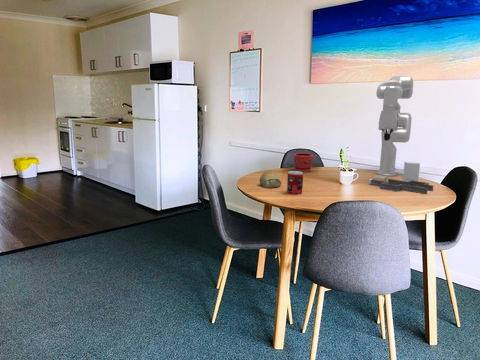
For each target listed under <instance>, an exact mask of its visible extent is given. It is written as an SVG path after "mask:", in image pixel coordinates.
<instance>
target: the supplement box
mask: <svg viewBox="0 0 480 360" xmlns="http://www.w3.org/2000/svg"><path fill="white" fill-rule="evenodd" d="M420 166H421V162H418V161H407V160H406V161H404V164H403V174H402V181H406V182H408V181H411V180H412V181H419V176H420V169H421V167H420Z"/></svg>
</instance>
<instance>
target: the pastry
mask: <svg viewBox="0 0 480 360" xmlns="http://www.w3.org/2000/svg"><path fill="white" fill-rule="evenodd" d="M258 181H259V184H260V185H261V187H263V188H265V189H272V188H279V187H280V186H281V185H282V181H281V178H279V176H278V175H277V174H276V173H274V172H272V171H265V172H263V173H262V174H261V175H260V177H259V180H258Z"/></svg>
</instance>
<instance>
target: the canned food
mask: <svg viewBox="0 0 480 360" xmlns="http://www.w3.org/2000/svg"><path fill="white" fill-rule="evenodd" d="M286 179H287V182H286V183H287V184H286V186H287V187H286V192H287V193H288V194H290V195H301V194H302V193H303V188H304V187H303V186H304V172H300V171H296V170H289V171H287V178H286Z"/></svg>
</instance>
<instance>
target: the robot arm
mask: <svg viewBox="0 0 480 360" xmlns="http://www.w3.org/2000/svg"><path fill="white" fill-rule="evenodd" d="M413 91H414V79H413V77H412V76H410V75H401V76H400V75H399V76H397V75H395V76H391V78H389V80H388V81H385V82H381V83H379V85H378V87H377V89H376V92H375V93H376V97H377V99H378V100H383V102H382V110H380V115H379V119H378V130H380V131H381V135H380V136H381V148H380V159H379V160H380V161H379V169H378V171H376V174H377V176H378V175H381V176H387V177H394V176H395V177H396V176H397V173H396V172H395V171H396V159H397V158H396V157H397V150H398V149H397V147H396V145H395V144H394V143H401V144H402V143H408V142H409V141H410V138H411V137H410V136H411V129H412V115H411V113H410V112H409V113H408V112H401V105H400V103H399V102H398V101H399V99H401V100H405V99H406V100H407V99H411V98H412V97H413V93H414V92H413Z"/></svg>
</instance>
